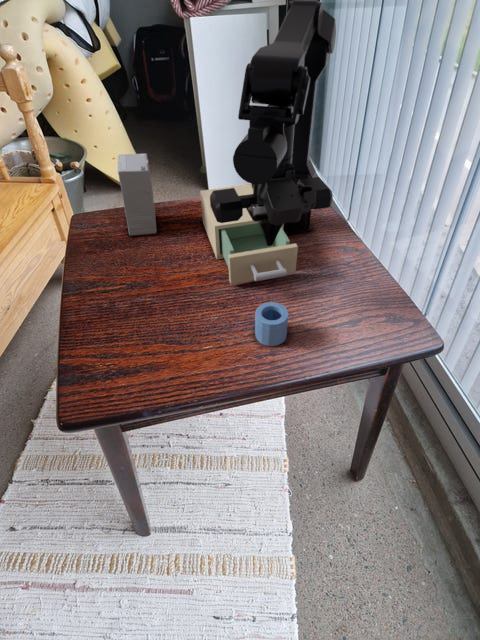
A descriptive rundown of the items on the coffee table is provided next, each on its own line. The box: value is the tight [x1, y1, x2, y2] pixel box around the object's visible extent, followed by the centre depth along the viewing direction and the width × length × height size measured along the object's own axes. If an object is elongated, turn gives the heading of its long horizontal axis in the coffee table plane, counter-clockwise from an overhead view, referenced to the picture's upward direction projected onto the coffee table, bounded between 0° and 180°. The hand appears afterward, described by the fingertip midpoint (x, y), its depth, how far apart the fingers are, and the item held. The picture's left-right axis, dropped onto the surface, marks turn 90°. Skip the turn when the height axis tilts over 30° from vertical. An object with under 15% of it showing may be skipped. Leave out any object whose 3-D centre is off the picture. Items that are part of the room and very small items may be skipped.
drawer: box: [219, 223, 299, 285], centre depth 84 cm, size 19×13×6 cm
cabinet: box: [199, 183, 284, 260], centre depth 93 cm, size 16×15×8 cm
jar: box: [254, 301, 289, 347], centre depth 71 cm, size 5×6×5 cm
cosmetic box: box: [117, 153, 157, 237], centre depth 94 cm, size 8×7×16 cm
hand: (269, 244), depth 72 cm, fingers closed
